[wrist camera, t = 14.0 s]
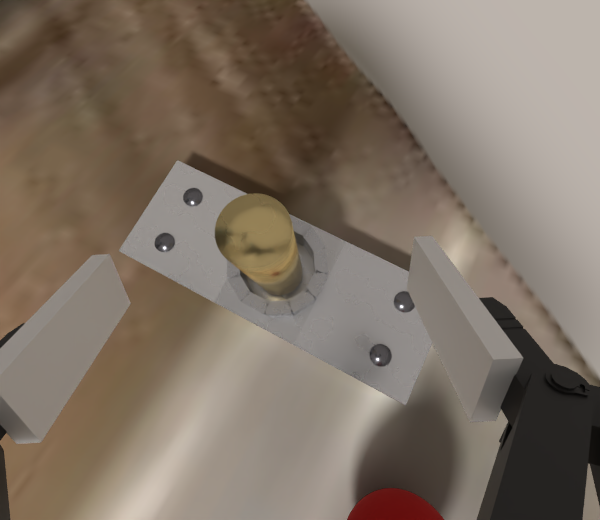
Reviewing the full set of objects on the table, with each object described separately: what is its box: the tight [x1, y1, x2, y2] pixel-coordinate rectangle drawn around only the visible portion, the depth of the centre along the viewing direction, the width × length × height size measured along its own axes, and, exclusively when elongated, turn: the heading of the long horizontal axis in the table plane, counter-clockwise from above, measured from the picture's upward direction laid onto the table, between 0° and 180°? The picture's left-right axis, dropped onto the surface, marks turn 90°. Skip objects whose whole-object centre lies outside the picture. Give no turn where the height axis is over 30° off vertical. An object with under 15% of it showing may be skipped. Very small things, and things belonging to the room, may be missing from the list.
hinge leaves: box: [119, 160, 432, 405], centre depth 25 cm, size 25×9×4 cm, turn 63°
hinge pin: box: [215, 193, 303, 295], centre depth 21 cm, size 4×4×11 cm
